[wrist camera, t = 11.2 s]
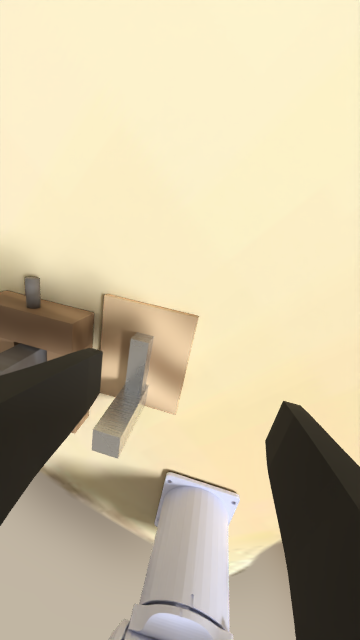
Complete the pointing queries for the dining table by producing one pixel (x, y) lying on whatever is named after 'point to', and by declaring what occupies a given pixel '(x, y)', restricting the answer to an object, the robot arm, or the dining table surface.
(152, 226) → the dining table surface
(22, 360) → the vise
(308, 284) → the dining table surface
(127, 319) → the cork mat
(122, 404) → the grey l-shaped block
